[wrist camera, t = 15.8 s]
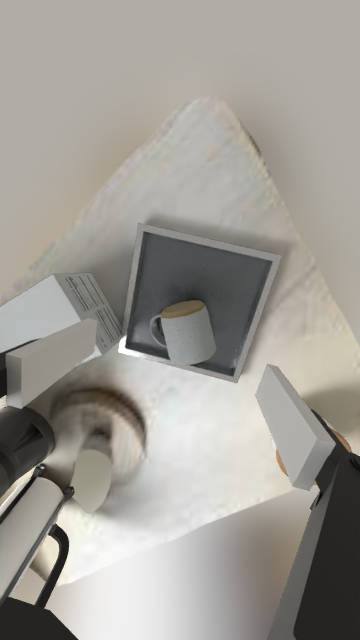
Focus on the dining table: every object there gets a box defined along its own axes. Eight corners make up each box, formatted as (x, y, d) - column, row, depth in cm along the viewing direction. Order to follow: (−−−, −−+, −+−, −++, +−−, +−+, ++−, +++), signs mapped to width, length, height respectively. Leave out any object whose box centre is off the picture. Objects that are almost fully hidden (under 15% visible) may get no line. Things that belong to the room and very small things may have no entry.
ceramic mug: (206, 294, 32) (204, 308, 25) (216, 339, 35) (217, 363, 28) (146, 307, 35) (128, 323, 28) (159, 348, 37) (146, 373, 30)
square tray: (122, 347, 38) (118, 351, 36) (142, 225, 32) (138, 222, 30) (235, 377, 37) (237, 383, 35) (277, 256, 31) (282, 255, 29)
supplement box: (91, 270, 35) (52, 271, 26) (127, 334, 38) (103, 355, 29) (23, 310, 39) (-32, 323, 30) (60, 366, 41) (20, 394, 32)
